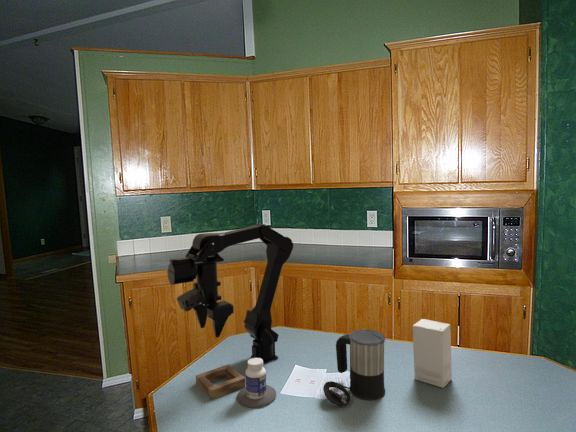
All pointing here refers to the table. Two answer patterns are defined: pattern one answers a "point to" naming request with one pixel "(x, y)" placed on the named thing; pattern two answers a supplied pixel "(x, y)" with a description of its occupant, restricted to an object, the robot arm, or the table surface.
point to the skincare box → (432, 352)
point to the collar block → (221, 389)
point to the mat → (257, 403)
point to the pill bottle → (255, 379)
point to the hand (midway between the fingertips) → (209, 332)
